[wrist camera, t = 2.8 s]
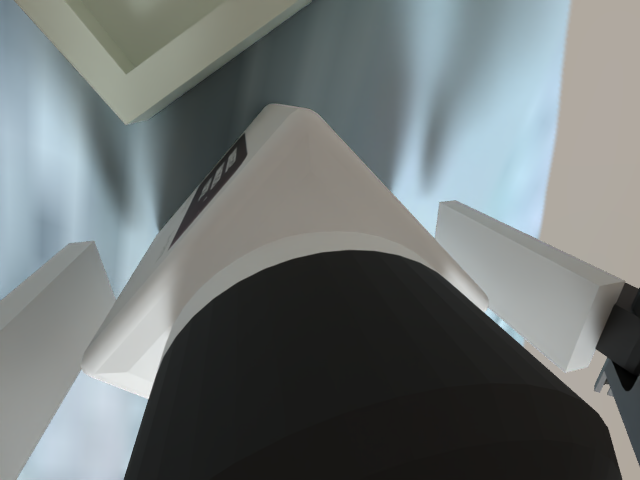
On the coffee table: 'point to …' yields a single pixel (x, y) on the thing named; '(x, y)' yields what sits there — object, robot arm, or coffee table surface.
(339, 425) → the container
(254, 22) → the parts tray
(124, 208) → the coffee table surface
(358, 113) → the coffee table surface
